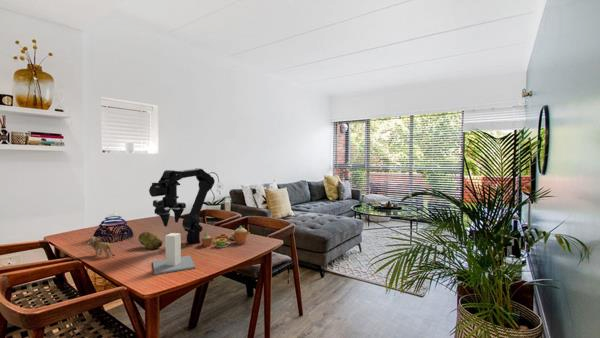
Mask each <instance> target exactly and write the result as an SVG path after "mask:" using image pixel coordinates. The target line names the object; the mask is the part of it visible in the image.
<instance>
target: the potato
mask: <svg viewBox="0 0 600 338" xmlns="http://www.w3.org/2000/svg"><path fill="white" fill-rule="evenodd" d="M138 241H139V243H140V244H141V245H142V246H144V248H146V249H148V250H149V249H150V250H153V249H159V248H161V247H162V246H163V240H162V239H161V238H160V237H158V235H156V234H154V233H153V232H151V231H144V232H141V233H140V234H139V235H138Z"/></svg>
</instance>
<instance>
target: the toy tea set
mask: <svg viewBox="0 0 600 338" xmlns="http://www.w3.org/2000/svg"><path fill="white" fill-rule="evenodd" d="M250 234H251V232H250V231H248V230H247V229H245V227H243V226H242V225H239V227H237V228H236V229H235V230H234V231H232V232H231V235H229V234H228V233H220V234H217V236H215V237H214V239H215V240H214V241H213V236H212V235H208V233H207V232H205V233H204V234H203V236H201V237H200V239H201V243H202V246H204V247H209V246H211V245H212V244H215V247H216V248H220V249H221V248H226V247H228V246H229V245H231V242H228V239H230V240H232V241H235V243H236V244H237V245H238V244H239V245H240V244H241V245H242V244H245V243H247V239H248V238H247V237H248V236H249V235H250ZM228 235H229V236H228Z"/></svg>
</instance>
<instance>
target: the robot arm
mask: <svg viewBox="0 0 600 338" xmlns="http://www.w3.org/2000/svg"><path fill="white" fill-rule="evenodd" d="M191 177H195V178H196V180H197V181H198V191H197V194H196V196H195V199H194V202H193V204H192V207H191V210H190V212H189V213H188V214H185V215H184V217H183V219H182V228H183V229H184V232H186V234H185V239H186V240H185V241H186V243H187V245H192V244H193V245H194V244H200V243H201V240H200V239H201V237H200V236H201V235H200V233H201V232H202V231H203V226H201V224H200V222H201V221H200V220H201V219H200V213H201V211H202V208H203V205H204V202H205V200H206V197H207V195H208V192H209V191H210V190H211V189H212V188H213V187H214V185H215V178H214V177H213V176H212V175H211V174H209V173H208V172H206V171H205V170H204V169H203V168H193V169H187V170H186V169H185V170H174V169H173V170H171V169H169V170H168V169H167V170H166V169H165V170H164V171H163V173H162V175H161V177H160V179H158V182H151V185H150V187H149V190H148V192H149V195H150V196H151V197H162V199H161V200H158V199H154V200H153V201H152V207H154V208H155V209H154V214H155V215H156V216H159V217H160V219H161V221H162V224H163V227H165V228H166V227H168V223H169V220H170V216H171V213H170V212H171V211H172V212H173V214H174V222H175V223H178V222H179V220H180V217H181V216H182V214H183V212H184V210H185V209H186V208H187V205H186V203H185V202H178V199H179V198H180V197H179V195H178V191H177V190H178V188H177V187H178V186H181V183H180V182H178V181H181V180H182V179H185V178H191Z"/></svg>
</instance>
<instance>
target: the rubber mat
mask: <svg viewBox="0 0 600 338" xmlns="http://www.w3.org/2000/svg"><path fill="white" fill-rule="evenodd" d="M152 263H153V275H154V276H155V275H160V274H161V273H162V274H167V272H169V273H174V271H175V272H180V270H181V271H185V270H186V271H187V270H192V269H193V270H194V269H196V266H195V263H194V261H193V259H192V257H191V255H183V256H181V262H180V263H179V264H177V265H175V266H173V265H166V258H163V259H161V258H160V259H156V260H152Z"/></svg>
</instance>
